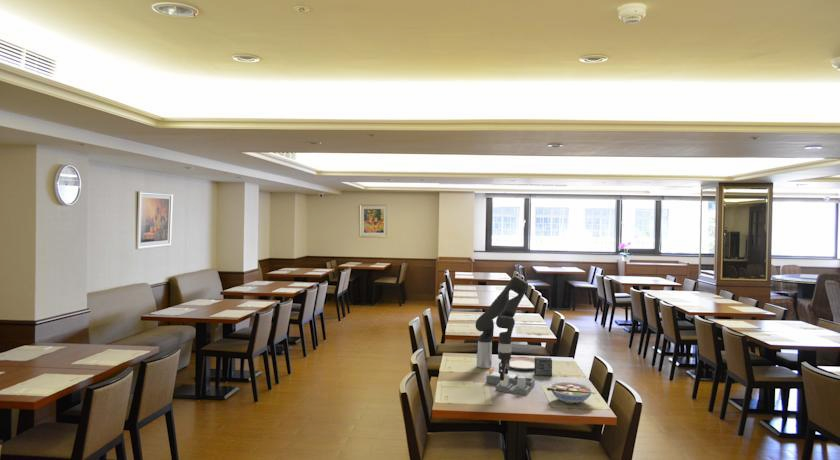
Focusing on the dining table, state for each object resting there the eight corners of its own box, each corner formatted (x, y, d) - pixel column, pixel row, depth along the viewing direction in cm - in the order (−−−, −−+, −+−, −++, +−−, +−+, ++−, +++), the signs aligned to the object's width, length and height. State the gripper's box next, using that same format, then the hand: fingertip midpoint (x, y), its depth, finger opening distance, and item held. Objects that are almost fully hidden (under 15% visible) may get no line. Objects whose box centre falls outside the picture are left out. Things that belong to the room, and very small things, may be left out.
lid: (487, 375, 325) (487, 369, 325) (491, 372, 332) (491, 366, 332) (513, 379, 318) (513, 373, 318) (517, 375, 325) (517, 369, 325)
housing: (480, 388, 314) (480, 373, 314) (490, 379, 333) (490, 365, 332) (526, 394, 303) (527, 379, 303) (534, 385, 321) (534, 371, 321)
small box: (550, 373, 347) (551, 357, 347) (552, 376, 340) (552, 360, 340) (534, 372, 348) (534, 356, 348) (535, 375, 341) (535, 359, 341)
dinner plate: (543, 373, 348) (543, 368, 348) (500, 370, 353) (500, 365, 353) (542, 362, 374) (542, 357, 374) (502, 359, 380) (502, 355, 380)
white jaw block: (500, 387, 312) (500, 375, 311) (502, 385, 315) (502, 373, 315) (506, 388, 310) (507, 376, 310) (508, 386, 314) (509, 374, 313)
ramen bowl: (592, 397, 301) (593, 382, 301) (596, 411, 279) (596, 395, 279) (546, 393, 307) (547, 378, 307) (546, 406, 285) (547, 391, 285)
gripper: (501, 347, 320) (501, 374, 320) (494, 352, 307) (494, 380, 308) (514, 348, 317) (513, 376, 317) (507, 354, 304) (506, 382, 304)
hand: (503, 378), depth 312 cm, fingers open, 8 cm apart
